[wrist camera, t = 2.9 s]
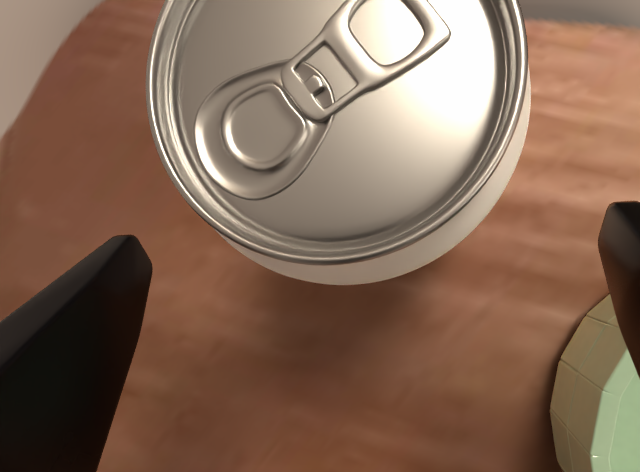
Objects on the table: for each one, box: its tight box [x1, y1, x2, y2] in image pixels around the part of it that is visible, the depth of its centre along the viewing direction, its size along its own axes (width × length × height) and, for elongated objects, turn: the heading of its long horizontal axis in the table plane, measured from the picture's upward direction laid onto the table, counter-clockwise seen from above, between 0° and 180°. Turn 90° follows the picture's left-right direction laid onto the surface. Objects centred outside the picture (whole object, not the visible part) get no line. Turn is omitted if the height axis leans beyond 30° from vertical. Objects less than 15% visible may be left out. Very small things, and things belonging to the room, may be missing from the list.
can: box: [146, 0, 531, 285], centre depth 13 cm, size 6×6×12 cm
